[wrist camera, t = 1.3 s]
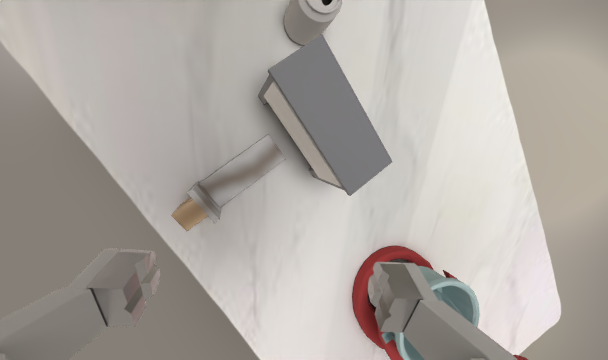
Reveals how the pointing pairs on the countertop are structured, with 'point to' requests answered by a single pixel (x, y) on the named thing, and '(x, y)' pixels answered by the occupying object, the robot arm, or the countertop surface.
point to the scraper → (228, 183)
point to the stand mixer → (444, 289)
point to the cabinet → (325, 117)
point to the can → (309, 18)
